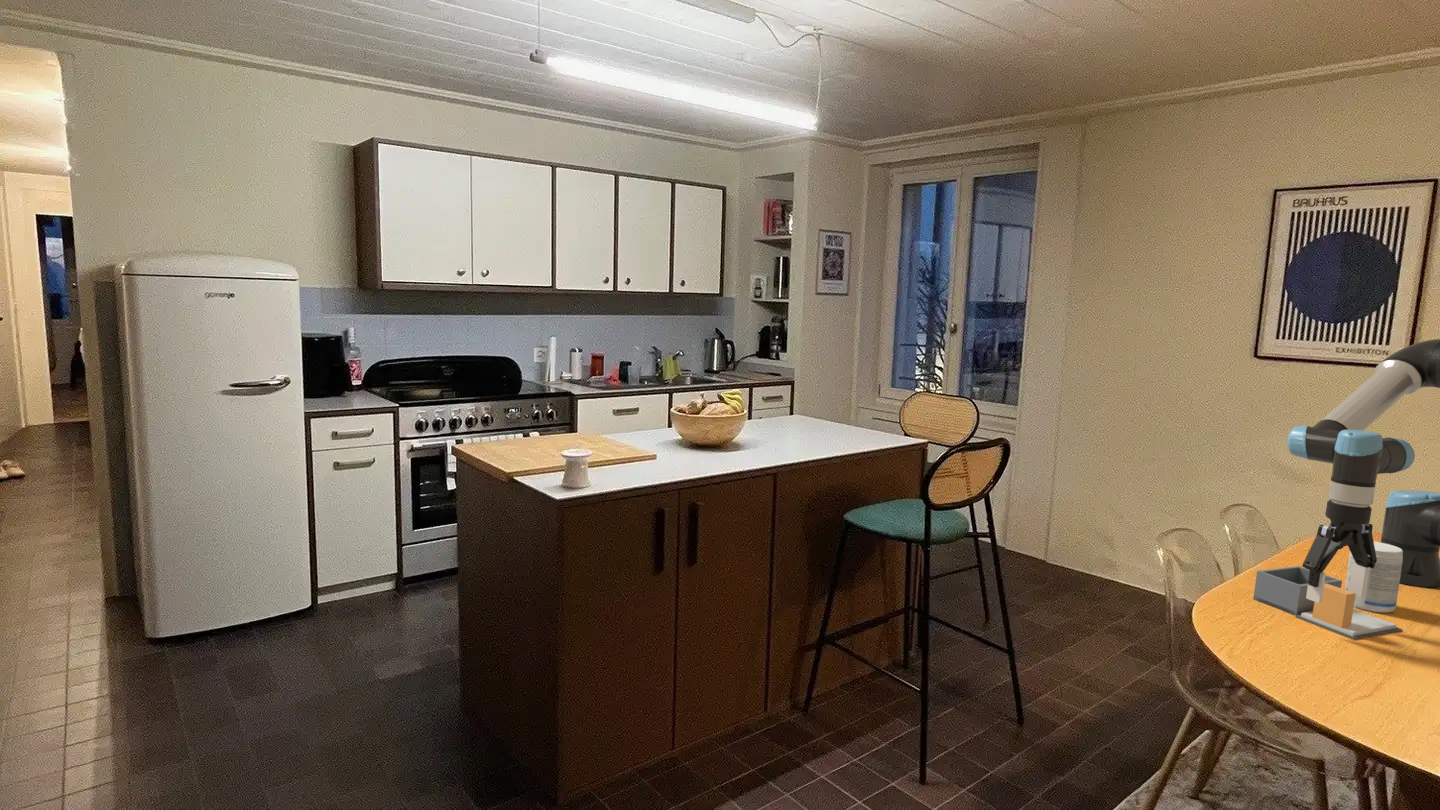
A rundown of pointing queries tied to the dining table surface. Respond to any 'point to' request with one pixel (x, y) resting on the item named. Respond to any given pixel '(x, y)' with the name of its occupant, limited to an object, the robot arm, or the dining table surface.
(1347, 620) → the lid
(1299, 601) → the box
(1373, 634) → the mat
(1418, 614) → the dining table surface
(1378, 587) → the supplement tub
